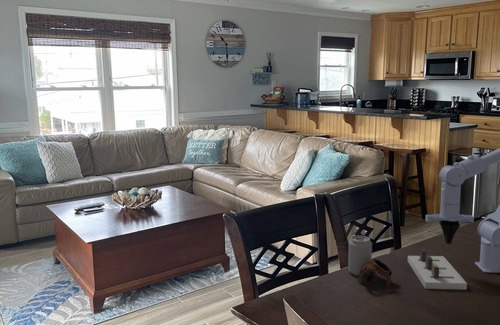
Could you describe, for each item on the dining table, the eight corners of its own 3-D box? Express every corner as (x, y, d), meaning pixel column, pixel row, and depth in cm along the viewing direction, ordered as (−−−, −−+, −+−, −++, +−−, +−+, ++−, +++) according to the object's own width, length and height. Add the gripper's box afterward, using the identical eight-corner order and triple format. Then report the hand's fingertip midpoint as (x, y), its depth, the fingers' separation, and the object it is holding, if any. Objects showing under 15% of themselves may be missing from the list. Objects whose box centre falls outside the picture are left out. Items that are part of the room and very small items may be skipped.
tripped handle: (436, 274, 138) (436, 263, 138) (438, 277, 136) (439, 266, 135) (431, 274, 139) (431, 263, 138) (434, 277, 136) (434, 266, 135)
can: (369, 268, 150) (370, 234, 148) (373, 277, 143) (374, 241, 141) (346, 267, 151) (347, 234, 149) (349, 277, 144) (350, 241, 142)
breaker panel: (443, 261, 154) (443, 246, 154) (466, 289, 133) (467, 272, 132) (407, 261, 156) (408, 245, 155) (425, 288, 134) (425, 271, 133)
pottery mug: (361, 275, 146) (374, 255, 144) (384, 294, 141) (399, 274, 139) (347, 278, 136) (361, 257, 135) (372, 299, 131) (387, 277, 130)
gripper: (430, 205, 141) (428, 246, 143) (478, 206, 139) (475, 247, 141) (424, 200, 148) (422, 239, 150) (470, 200, 146) (467, 239, 148)
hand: (448, 242), depth 146 cm, fingers closed
